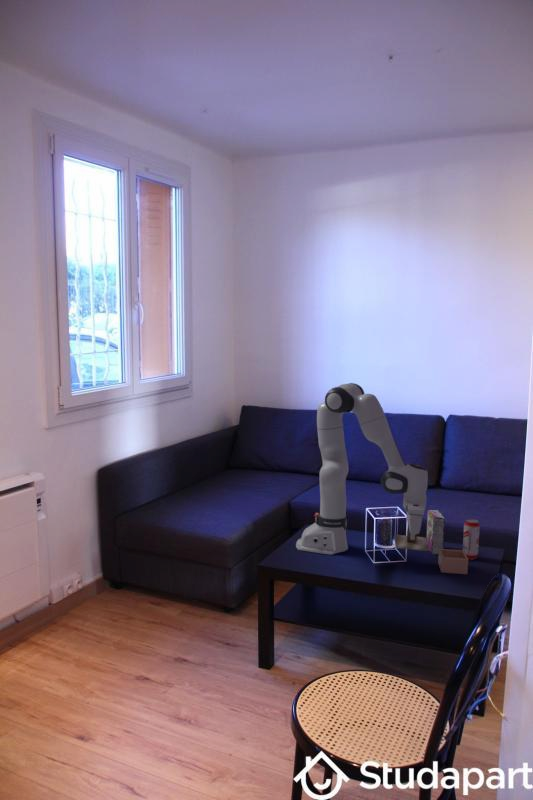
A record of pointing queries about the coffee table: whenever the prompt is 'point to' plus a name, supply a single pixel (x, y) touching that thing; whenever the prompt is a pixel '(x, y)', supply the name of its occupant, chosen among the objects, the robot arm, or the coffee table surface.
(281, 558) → the coffee table surface
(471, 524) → the beer can
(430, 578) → the coffee table surface
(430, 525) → the candy bar box
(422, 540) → the lid
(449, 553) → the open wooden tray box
